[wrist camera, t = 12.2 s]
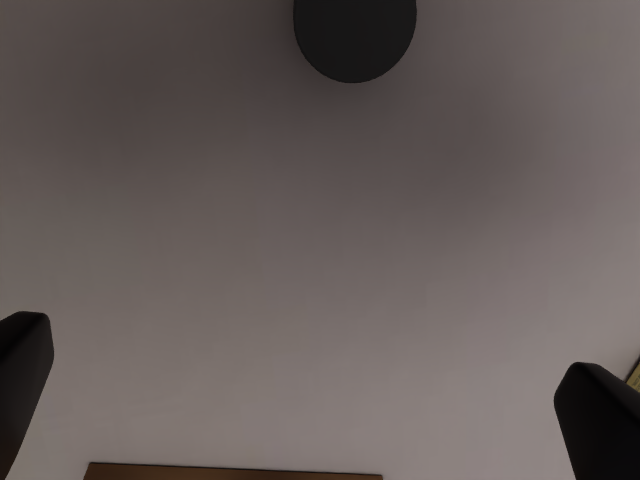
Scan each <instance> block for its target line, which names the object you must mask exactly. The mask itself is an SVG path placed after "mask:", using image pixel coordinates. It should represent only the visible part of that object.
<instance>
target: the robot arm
mask: <svg viewBox="0 0 640 480" xmlns="http://www.w3.org/2000/svg"><path fill="white" fill-rule="evenodd" d="M53 360H54V347H53V340H52V333H51V326H50V320H49V318H48V316H47V315H46V314H44V313H39V312H28V311H19V312H16V313H14V314H12V315H10V316H8V317H7V318H5V319H3V320H1V321H0V480H5V478H6V476H7V474H8V472H9V471H10V469H11V466H12V464H13V462H14V460H15V458H16V456H17V454H18V452H19V449H20V447H21V444H22V442H23V440H24V437H25V434H26V432H27V429H28V427H29V424H30V422H31V419H32V416H33V414H34V411H35V409H36V406H37V404H38V401H39V398H40V396H41V393H42V391H43V388H44V386H45V383H46V380H47V378H48V375H49V373H50V370H51V367H52V364H53ZM554 408H555V411H556V414H557V418H558V421H559V424H560V428H561V431H562V435H563V438H564V441H565V445H566V448H567V451H568V455H569V458H570V461H571V465H572V468H573V471H574V475H575V478H576V480H640V393H639V392H638V391H636V390H635V389H634V388H632V387H631V386H629V385H628V384H626V383H625V382H623V381H622V380H620V379H619V378H618V377H616V376H615V375H613V374H612V373H610V372H609V371H607V370H606V369H604V368H603V367H602V366H600V365H598V364H594V363H584V362H575V363H573V364H572V365H570V367H569V368H568V370H567V372H566V374H565V376H564V377H563V379H562V381H561V383H560V385H559V386H558V388H557V390H556V392H555V395H554Z"/></svg>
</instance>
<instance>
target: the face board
mask: <svg viewBox="0 0 640 480" xmlns="http://www.w3.org/2000/svg"><path fill="white" fill-rule="evenodd" d="M83 480H383V477H382V476H375V475H351V474H328V473H304V472H281V471H257V470H234V469H210V468H187V467H163V466H139V465H116V464H92V463H91V464H89V466H88V469H87V471H86V474H85V476H84V479H83Z"/></svg>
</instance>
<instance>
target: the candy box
mask: <svg viewBox="0 0 640 480" xmlns="http://www.w3.org/2000/svg"><path fill="white" fill-rule="evenodd" d="M626 384H628V385H629V386H631V387H632V388H634V389H635V390H636V391H638V392H639V393H640V362H639V364H638V366H637V367H636V369H635V370H634V372H633V373H632V375H631V376H630V378H629V379H628V381H627V382H626Z"/></svg>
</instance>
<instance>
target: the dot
mask: <svg viewBox="0 0 640 480" xmlns="http://www.w3.org/2000/svg"><path fill="white" fill-rule="evenodd" d="M416 15H417V9H416V0H294V5H293V23H294V31H295V36H296V40H297V43H298V45H299V47H300V50H301V52H302V53H303V55H304V57H305V58H306V60H307V61H308V62H309V63H310V64H311V65H312V66H313V67H314V68H315V69H316V70H317V71H318V72H320V73H321V74H323V75H324V76H326V77H328V78H330V79H333V80H336V81H339V82H344V83H361V82H365V81H369V80H372V79H375V78H377V77H379V76H381V75H383V74H384V73H386V72H387V71H389V70H390V69H391V68H392V67H393V66H395V65H396V64H397V62H398V61H399V60H400V59H401V58H402V56H403V55H404V53H405V52H406V50H407V48H408V47H409V45H410V42H411V40H412V37H413V34H414V30H415V25H416Z"/></svg>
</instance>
